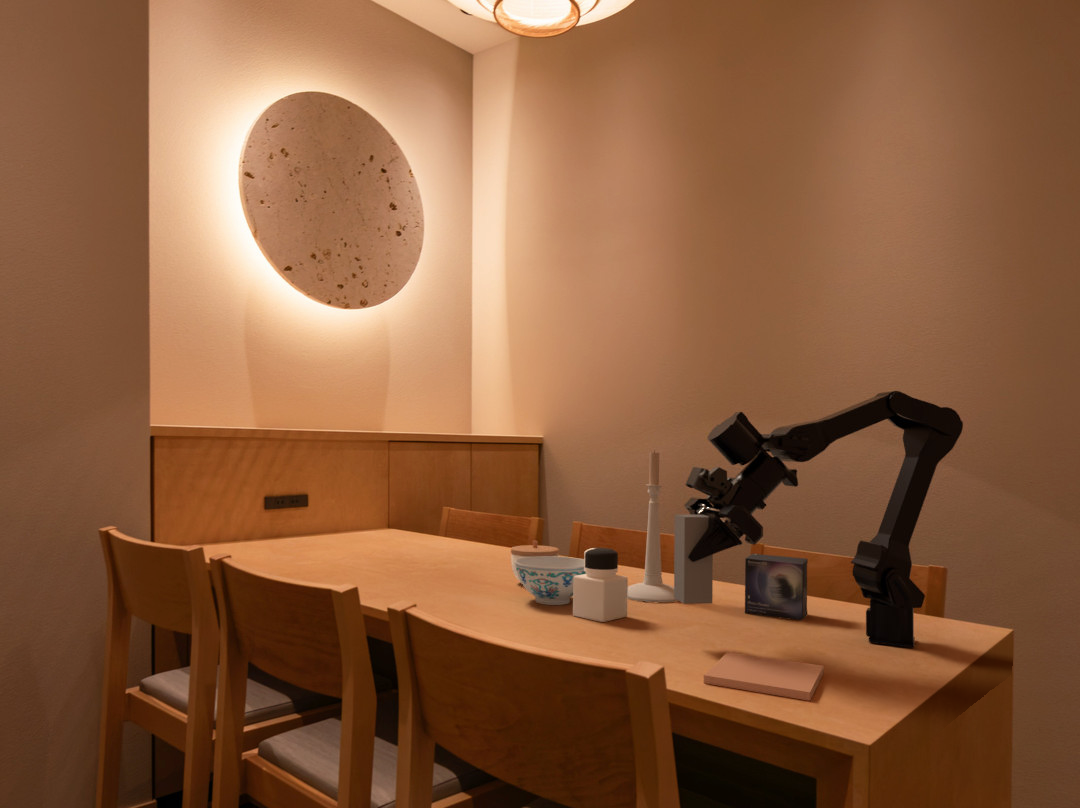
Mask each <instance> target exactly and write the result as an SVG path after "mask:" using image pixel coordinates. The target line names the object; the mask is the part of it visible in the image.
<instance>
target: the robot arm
mask: <svg viewBox="0 0 1080 808" xmlns="http://www.w3.org/2000/svg"><path fill="white" fill-rule="evenodd" d="M885 420H887V421H889V422H890V423H891V424H892V426H894V427H896V428H899V429H901V430H902V431H903V434H902V441H903V442H902V443H903V447H904V452H905V453H904V458H903V461H902V464H901V467H900V470H899V471H898V472H899V473H898V475H897V478H896V481H895V483H894V486H893V489H892V493H891V494H890V496H889V497H890V498H889V500H888V503H887V505H886V509H885V512H884V514H883V518H882V520H881V523H880V525H879V528H878V532H877V533H876V535H875V536H874V537H873V538H872V539H871V540H870V541H867V540H866V541H865V540H862V539H861V540H859V542H858V545H857V548H856V553H855V555H854V557H853V559H851V561H850V564H853V566H852V567H853V568H852V576H853V577H854V580H855V583H856V584H857V585H858V586H859V587H860V590H861V594H862V596H863V598H865V599H870V600H869V607H867V608H866V610H865V636H866V637H868V642H869V643H872V644H873V643H874V644H880V645H881V644H882V645H889V646H896V647H905V648H912V649H913V648H915V644H916V643H915V642H916V641H915V639H916V638H915V633H914V632H915V630H914V627H915V625H914V624H915V623H914V622H915V621H914V616H915V615H914V609H921V608H922V607H923V604H924V600H925V597H926V595H925V593H924V592H923V591H922V590H921V589H920V588H919V586H917V585H916V583H914V581H912V579H911V578H910V577H911V573H912V567H913V563H912V558H911V551H910V544H911V541H912V538H913V534H914V532H915V529H916V526H917V524H918V521H919V517H920V514H921V511H922V510H923V506H924V503H925V500H926V498H927V495H928V493H929V489H930V487H931V484H932V480H933V479H934V478H933V477H934V475H935V472H936V470H937V466H938V464H939V463H940V462H941V461H942V460H943V459H945V457H946V456H947V455H949V453H950V452H952V451H953V449H954V448H955V446H956V444H957V441H958V440H959V438H960V437H961V435H962V433H963V429H964V421H962V419H961V417H960V415H959V414H958V412H957V411H956V410H955V409H953V408H951V407H948V406H943V407H941V406H939V405H936V404H934V403H931V402H929V401H926V400H925V401H924V400H921V399H918V398H916V397H912V396H910V395H908V394H907V393H904V392H902V391H899V390H892V391H890V390H889V391H883V392H882V391H881V392H879V393H877V394H876V395H875V396H873V397H870V398H868V399H866V400H863V401H859V403H855V404H853V405H851V406H847V408H843V409H841V410H838V411H835V412H834V413H833V412H832V413H831V414H829V415H826V416H824V417H820V418H818V419H815V420H814V419H813V420H810V421H804V422H799V423H793V424H789V425H783V426H779V427H777V428H774V429H773V430H772V431H771V432H770V433H763V434H762V433H760V432H759V430H758V429H757V428H756V427H755V426H754V425H753V424H752V423H751V421H750V420H749V418H748V417H747V415H745V413H744V412H743V411H737V412H736V411H735V412H734V414H732V415H731V416H730V417H727V418H726V419H725V420H723V421H722V422H721V423H720V424H717V425H715V427H713V428H712V430H711V431H710V432H709V433H708V435H707V440H708V442H710V444H712V446H713V447H714V448H715V449H716V450H717V451H718V452H719V453H720V454H721V455H722V456H723V458H724V459H725V460H726V461H727V462H728V463H729V464H730V465H732V466H735V465H739V466H741V467H742V466H744V467H743V469H742V470H740V472H739V473H737V474H736V476H735V477H728V471H727V470H726V469H723V468H721V467H720V466H718V467H717V466H715V467H713V468H712V469H710V470H709V469H708V468H702V467H698V466H693V467H692V468H691V471H690V473H689V475H688V477H687V479H686V482H685V484H684V485H685V486H686V487H688V488H690V489H695V490H696V491H699V492H700V493H702V494H704V495H706V497H705V498H703V497H690V498H689V500H687V502H686V503H685V504H684V508H685V509H686V510H687V511H688V513H689V515H706V516H709V525H708V529H707V530H706V532H705V533H704V535H703V536H702V537H701V539H700V540H699V541H698V543H697V544H696V546H695V547H694V548H693V550H692V551H691V553H690V554H689V556H688V558H689V559H690V560H691V561H692V562H695V561H698V560H700V559H703V558H705V557H708V556H710V555H712V554H713V555H715V554H718V553H720V552H723V551H725V550H728V549H730V548H734V547H736V546H742V545H743V541H742V540H741V538H742V537H743V536H744V535H745V537H744V541H745V543H747V544H751V545H753V546H755V545H756V544H757V543H758V542H759V541H761V539H762V538H763V537H764V526H763V525H762V524H761V523H760V522H759V521H758V519H756V518H755V517H754V516H753V514H754V513H755V512H756V511H757V510H763V509H765V508H766V507H767V503H765V501H766V500H767V499H768V497H770V496H771V495H772V493H774V491H776V489H777V488H778V487H779V486H781V484H783V485H784V486H786V487H798V486H799V479H798V476H797V475H798V470H797V469H795V468H789V467H787V466H786V464H785V463H784V462H793V463H794V462H795V463H805V462H809V461H811V460H812V459H814V458H815V457H817V456H818V455H820V454H821V453H823V452H825V451H826V450H827V449H828V447H829V446H830V445H831V444H833V443H834V442H835V441H837V440H839V439H842V438H844V437H848V436H849V435H852V434H854V433H857V432H859V431H861V430H864V429H866V428H868V427H871V426H873V425H876V424H878V423H880V422H883V421H885ZM770 453H771V455H770Z"/></svg>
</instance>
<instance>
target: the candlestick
mask: <svg viewBox="0 0 1080 808" xmlns="http://www.w3.org/2000/svg"><path fill="white" fill-rule="evenodd" d="M645 486H646V487H647V494H648V495H649V502H648V516H647V517H648V518H647V529H646V531H647V532H646V533H647V534H646V545H645V546H646V547H645V548H646V549H645V562H644V575H643V576H644V577H643V581H642V582H638V583H633V584H631V585H628V594H627V598H628V599H627V600H629V599H632V600H631V601H633V600H637V601H636V602H639V601H645V602H644V603H648V602H673V603H676V602H675V601H678V600H677V599H675V598H674V586H672V585H670V584H666V583H663V578H662V577H663V576H662V575H663V573H662V557H661V556H662V554H661V532H660V530H661V529H660V528H661V527H660V502H659V495H660V494H661V488H662V487H663V484H660V452H656V450H654V452H649V482H648V483H647V484H645Z"/></svg>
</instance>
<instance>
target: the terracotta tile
mask: <svg viewBox="0 0 1080 808" xmlns="http://www.w3.org/2000/svg"><path fill="white" fill-rule="evenodd" d="M823 675H824V665H820V664H812V663H806V662H799V661H791V660H786V659H779V658H773V657H766V656H765V657H764V656H758V655H750V654H743V653H737V652H731V651H727V652H726V653H725V654H724V655H723V656H721V658H720V659H719V660H718V661H717V662H716V663H715V664H714V665H712V666H711V667H710V668H709V669H708V670H707V671H706V672H705V673H704V674H703V684H708V685H713V686H719V687H725V688H731V689H738V690H742V691H750V692H755V693H760V694H767V695H772V696H779V697H785V698H791V699H797V700H802V701H807V702H808V701H811V699H812V697H813V695H814V693H815V691H816V689H817V687H818V686H819V683H820V682H821V679H822V677H823Z"/></svg>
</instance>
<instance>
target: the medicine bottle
mask: <svg viewBox="0 0 1080 808" xmlns="http://www.w3.org/2000/svg"><path fill="white" fill-rule="evenodd" d="M583 555H584V557H583V559H584V571H585V572H586V574H582V575H577V576H574V579H573V596H572V615H573V617H576V618H582V619H586V620H590V621H596V622H600V623H605V622H609V621H614V620H618V619H622V618H626V617H628V599H627V594H628V586H629V584H628V582H629V579H628V577H627V576H625V575H619V574H617V573H618V572H619V571H618V569H619V562H618V561H619V560H618V559H619V553H618V552H617V551H616V550H615V549H613V548H612V549H611V548H609V547H608V548H607V547H592V548H589V549H588V548H587V549H586V550H585V551H584V553H583Z"/></svg>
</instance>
